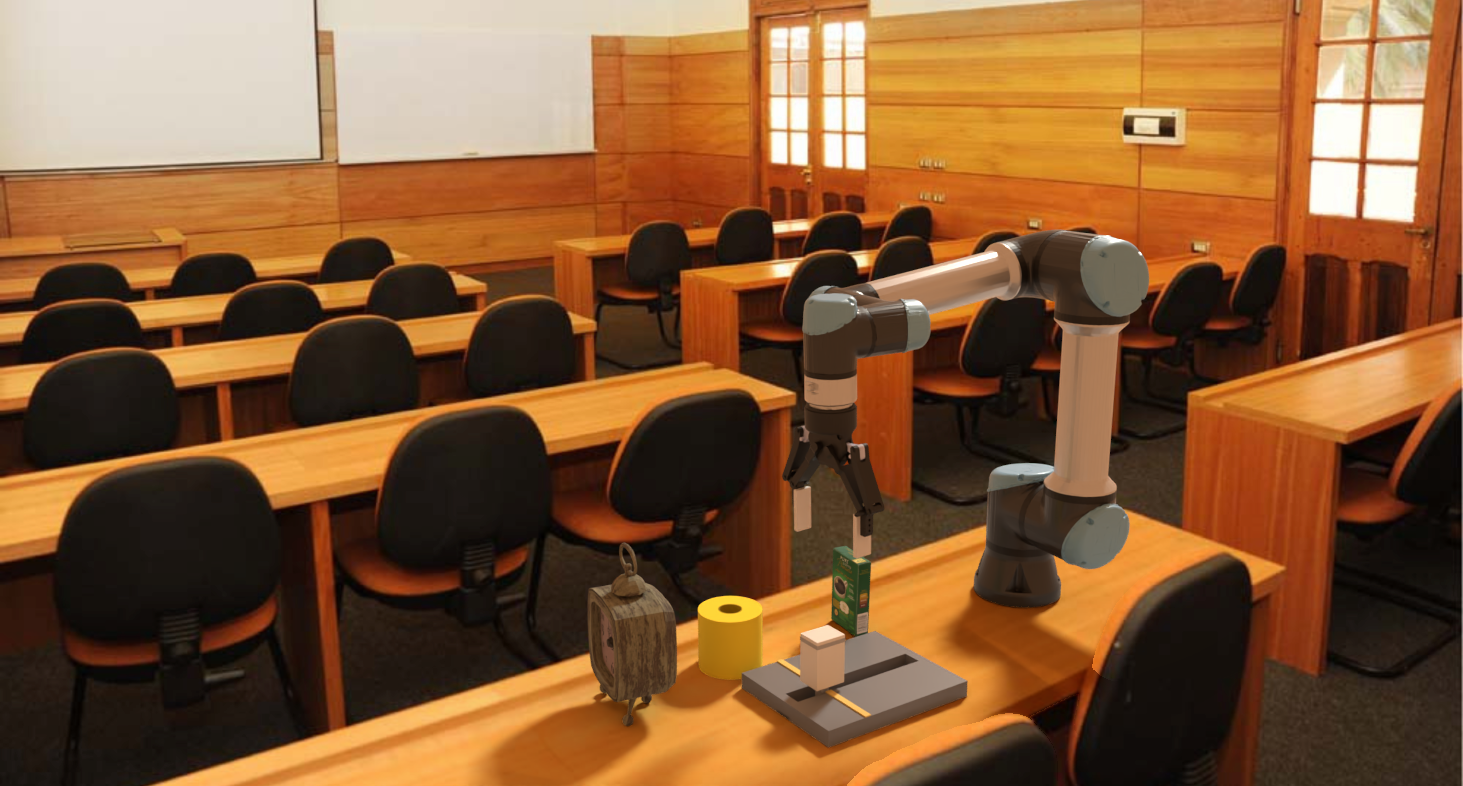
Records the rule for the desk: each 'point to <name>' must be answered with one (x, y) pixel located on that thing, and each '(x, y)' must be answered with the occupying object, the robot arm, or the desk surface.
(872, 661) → the fader console
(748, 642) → the yellow toilet paper roll
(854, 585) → the coffee box
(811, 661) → the fader knob
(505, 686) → the desk surface
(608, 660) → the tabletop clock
